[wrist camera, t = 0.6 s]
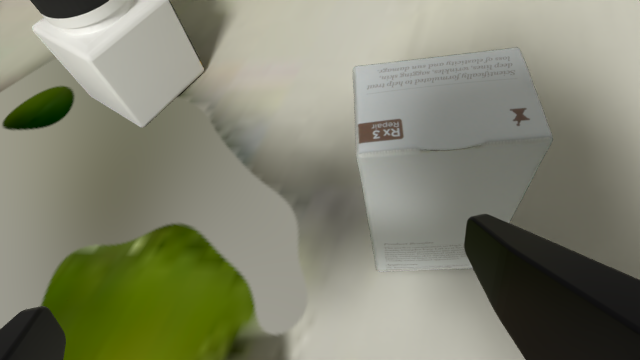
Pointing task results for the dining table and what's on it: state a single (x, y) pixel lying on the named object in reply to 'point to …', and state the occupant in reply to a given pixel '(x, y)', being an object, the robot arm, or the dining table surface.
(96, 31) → the medicine bottle
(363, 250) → the dining table surface
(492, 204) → the skincare box
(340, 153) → the dining table surface
